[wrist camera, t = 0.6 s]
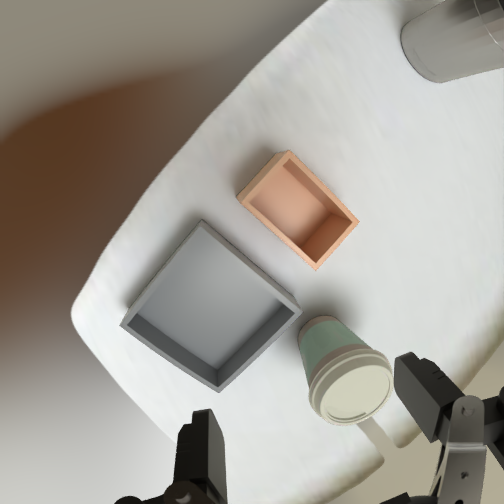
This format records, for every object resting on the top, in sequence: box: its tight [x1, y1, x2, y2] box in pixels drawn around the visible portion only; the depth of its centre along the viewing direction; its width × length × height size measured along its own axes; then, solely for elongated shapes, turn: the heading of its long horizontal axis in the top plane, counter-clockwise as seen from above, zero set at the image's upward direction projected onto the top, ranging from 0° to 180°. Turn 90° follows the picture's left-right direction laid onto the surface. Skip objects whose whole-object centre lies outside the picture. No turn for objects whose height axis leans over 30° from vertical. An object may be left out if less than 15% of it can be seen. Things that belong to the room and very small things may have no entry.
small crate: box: [236, 150, 360, 271], centre depth 29 cm, size 6×9×6 cm, turn 48°
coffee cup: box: [298, 315, 394, 426], centre depth 31 cm, size 8×8×12 cm
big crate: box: [119, 220, 303, 393], centre depth 32 cm, size 13×13×4 cm
